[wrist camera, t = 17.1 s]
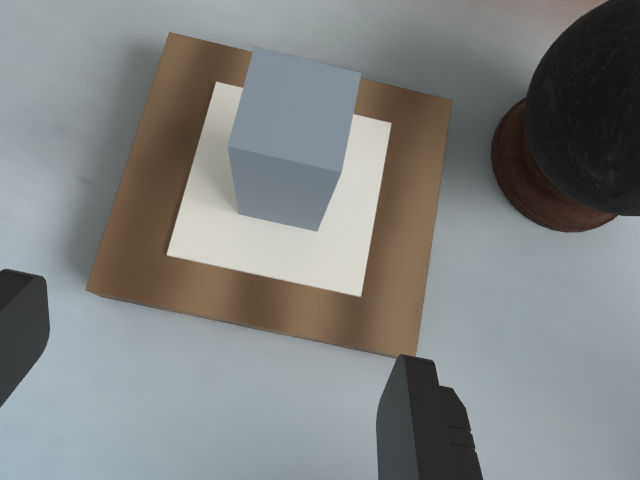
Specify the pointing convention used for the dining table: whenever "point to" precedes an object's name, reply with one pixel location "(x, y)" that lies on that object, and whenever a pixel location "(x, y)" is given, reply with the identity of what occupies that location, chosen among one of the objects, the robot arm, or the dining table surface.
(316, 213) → the slate block
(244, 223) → the wooden board
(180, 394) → the dining table surface
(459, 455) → the robot arm
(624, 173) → the black ball on pedestal
